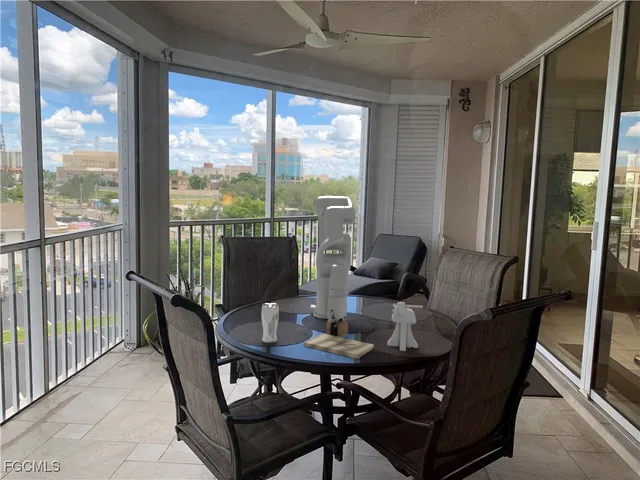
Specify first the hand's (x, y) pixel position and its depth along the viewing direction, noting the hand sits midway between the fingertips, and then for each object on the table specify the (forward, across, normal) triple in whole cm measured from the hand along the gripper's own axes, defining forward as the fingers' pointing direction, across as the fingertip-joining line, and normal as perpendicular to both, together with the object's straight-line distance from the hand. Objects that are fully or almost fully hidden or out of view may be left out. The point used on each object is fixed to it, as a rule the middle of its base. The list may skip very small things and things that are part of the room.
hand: (337, 333), depth 191 cm
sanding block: (+1, 0, 0) cm, 1 cm away
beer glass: (+1, +23, -19) cm, 30 cm away
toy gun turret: (+1, -4, +29) cm, 29 cm away
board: (+1, +13, +8) cm, 15 cm away
